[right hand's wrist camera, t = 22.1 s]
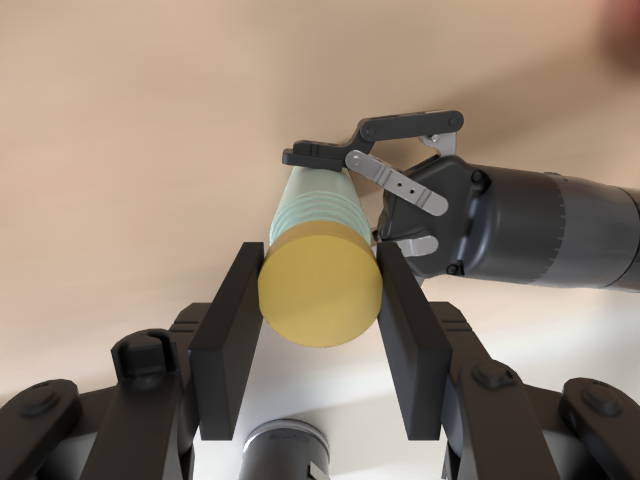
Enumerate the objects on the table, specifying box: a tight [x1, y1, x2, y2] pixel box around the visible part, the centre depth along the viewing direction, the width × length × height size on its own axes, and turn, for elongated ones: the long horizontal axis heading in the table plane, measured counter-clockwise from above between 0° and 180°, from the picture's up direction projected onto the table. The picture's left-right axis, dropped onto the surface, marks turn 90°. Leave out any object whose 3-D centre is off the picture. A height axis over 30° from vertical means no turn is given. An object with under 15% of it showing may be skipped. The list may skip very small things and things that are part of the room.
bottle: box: [270, 166, 371, 246], centre depth 22 cm, size 5×5×18 cm
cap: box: [258, 220, 383, 348], centre depth 14 cm, size 4×4×2 cm
